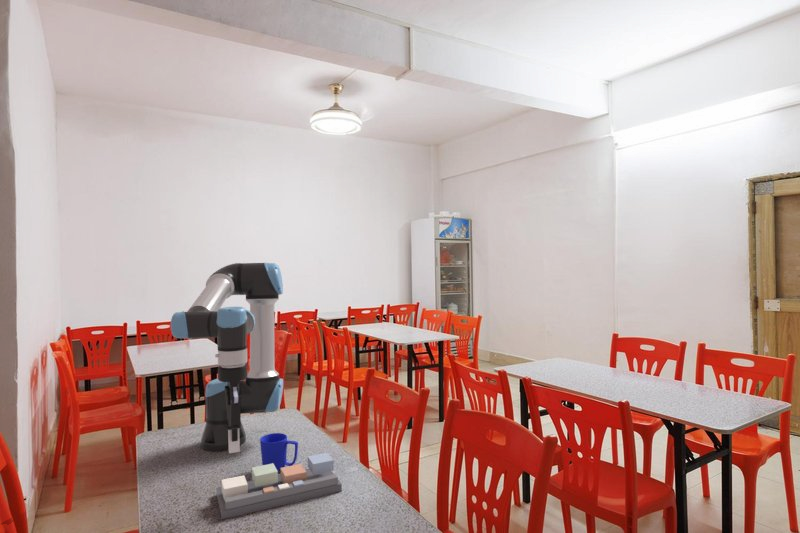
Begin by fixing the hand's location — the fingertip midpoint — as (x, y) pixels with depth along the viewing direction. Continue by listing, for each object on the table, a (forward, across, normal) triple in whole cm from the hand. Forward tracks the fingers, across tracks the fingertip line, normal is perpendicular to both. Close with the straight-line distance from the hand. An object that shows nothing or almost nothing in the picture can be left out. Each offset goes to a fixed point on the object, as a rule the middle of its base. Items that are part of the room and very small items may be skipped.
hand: (234, 451), depth 129 cm
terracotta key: (+11, 0, +16) cm, 20 cm away
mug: (+14, -15, +15) cm, 26 cm away
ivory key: (+11, 0, 0) cm, 11 cm away
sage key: (+10, 0, +8) cm, 12 cm away
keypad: (+14, 0, +12) cm, 18 cm away
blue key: (+10, 0, +24) cm, 26 cm away
